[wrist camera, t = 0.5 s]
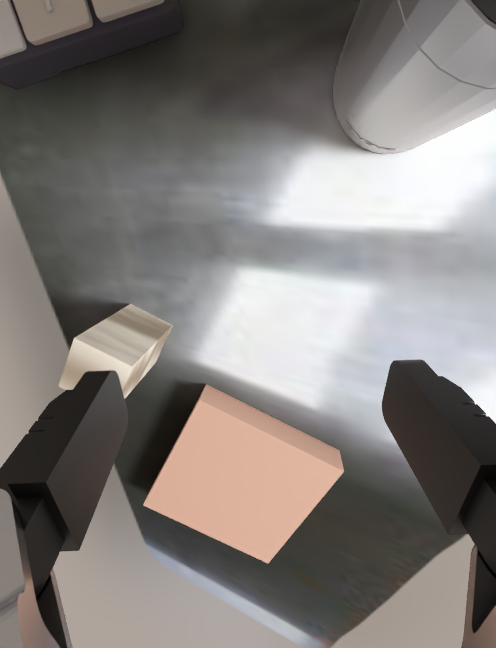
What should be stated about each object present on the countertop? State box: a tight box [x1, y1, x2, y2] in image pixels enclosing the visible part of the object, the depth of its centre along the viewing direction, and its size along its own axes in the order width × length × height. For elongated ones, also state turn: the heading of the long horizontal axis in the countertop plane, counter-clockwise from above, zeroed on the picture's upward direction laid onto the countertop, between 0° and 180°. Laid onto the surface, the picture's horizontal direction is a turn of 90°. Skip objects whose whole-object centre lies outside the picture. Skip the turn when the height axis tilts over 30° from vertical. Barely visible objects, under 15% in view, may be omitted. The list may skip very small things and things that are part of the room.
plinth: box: [143, 384, 344, 563], centre depth 35 cm, size 16×16×3 cm
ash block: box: [59, 304, 172, 399], centre depth 28 cm, size 5×5×9 cm
